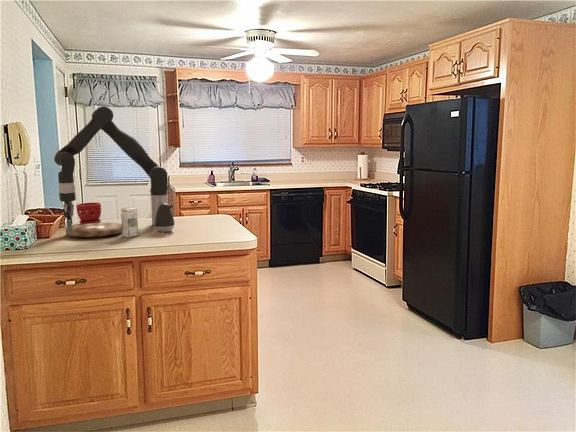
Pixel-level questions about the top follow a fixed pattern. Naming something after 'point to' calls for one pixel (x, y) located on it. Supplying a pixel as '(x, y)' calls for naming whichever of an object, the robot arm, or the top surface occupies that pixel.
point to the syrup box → (129, 222)
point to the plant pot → (89, 212)
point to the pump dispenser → (164, 218)
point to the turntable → (93, 229)
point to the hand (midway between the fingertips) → (69, 224)
